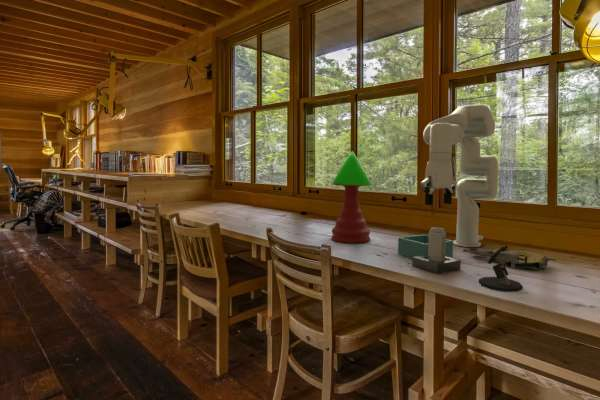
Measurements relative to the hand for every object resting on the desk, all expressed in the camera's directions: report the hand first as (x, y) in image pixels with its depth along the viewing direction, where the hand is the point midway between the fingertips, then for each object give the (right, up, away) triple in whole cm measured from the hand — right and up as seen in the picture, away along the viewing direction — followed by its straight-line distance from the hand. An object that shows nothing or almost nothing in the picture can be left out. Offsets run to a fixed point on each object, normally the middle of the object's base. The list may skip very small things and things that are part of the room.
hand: (438, 204), depth 143 cm
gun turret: (+12, -26, -16) cm, 32 cm away
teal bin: (+2, -22, +22) cm, 31 cm away
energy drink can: (0, -24, +2) cm, 24 cm away
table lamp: (-25, -19, +55) cm, 63 cm away
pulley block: (+31, -24, +10) cm, 40 cm away
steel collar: (0, -24, +2) cm, 24 cm away
